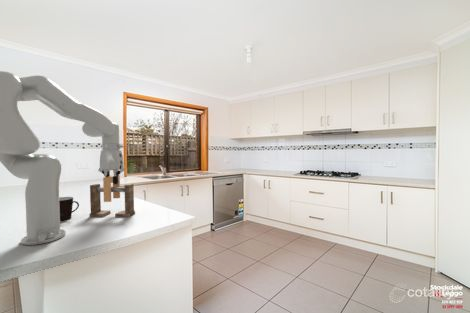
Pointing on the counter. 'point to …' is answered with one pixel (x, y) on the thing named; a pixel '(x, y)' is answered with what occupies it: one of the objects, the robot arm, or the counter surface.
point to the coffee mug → (66, 207)
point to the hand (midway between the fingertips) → (111, 183)
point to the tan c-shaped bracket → (107, 188)
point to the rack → (98, 212)
